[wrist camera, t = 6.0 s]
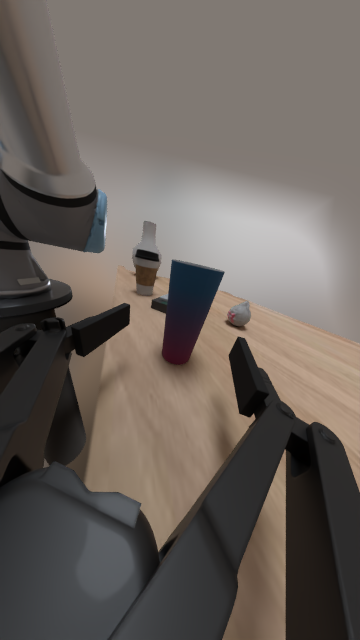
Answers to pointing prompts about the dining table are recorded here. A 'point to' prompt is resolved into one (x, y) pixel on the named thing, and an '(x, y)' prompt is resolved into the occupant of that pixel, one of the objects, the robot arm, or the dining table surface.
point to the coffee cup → (146, 271)
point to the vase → (147, 241)
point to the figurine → (239, 314)
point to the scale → (160, 303)
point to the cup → (187, 307)
